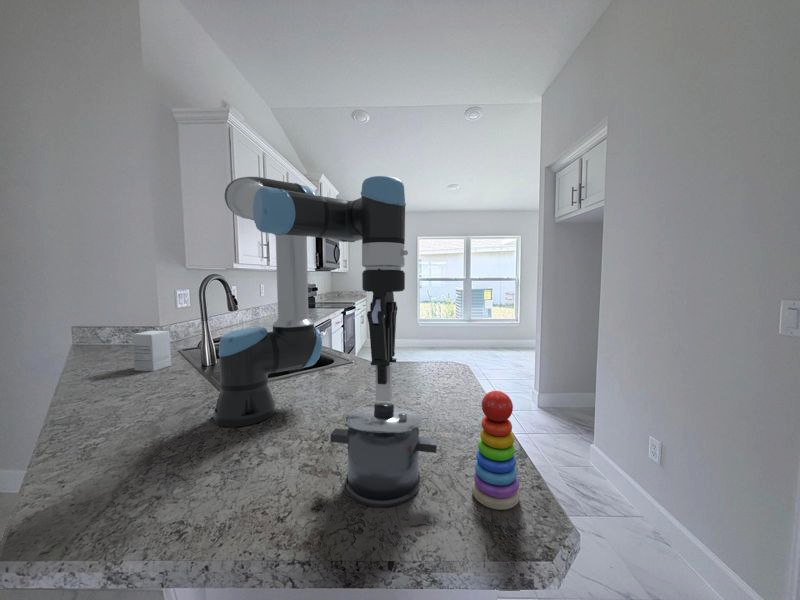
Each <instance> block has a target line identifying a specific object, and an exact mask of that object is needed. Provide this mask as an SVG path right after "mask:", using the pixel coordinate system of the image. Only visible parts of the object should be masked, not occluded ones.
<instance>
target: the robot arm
mask: <svg viewBox="0 0 800 600" xmlns="http://www.w3.org/2000/svg"><path fill="white" fill-rule="evenodd" d="M405 194H406V193H405V185H404V183H403V182H402V181H401V180H400V179H399V178H396V177H392V176H388V175H387V176H386V175H374V176H370V177H367V178H365V179H364V180H363V182H362V184H361V191H360V195H361V197H359V198H357V199H353V200H347V199H340V198H336V197H335V198H334V197H328V196H323V195H322V196H321V195H316V193H315V192H314V190H313V189H312V188H311V187H309V186H307V185H304V184H303V185H302V184H300V183H297V182H290V181H288V182H287V181H281V180H276V179H271V178H264V177H260V176H243V177H238V178H235V179H232V181H231V182H230V183H228V185H226V188H225V190H224V201H225V204H226V206H227V208H228V209H229V210H230V212H232V213H233V214H234V215H235V216H238V217H239V218H242V219H245V220H251V221H254V224H255V227H256V229H257V230H258V231H259V232H262V233H265V234H266V233H267V234H272V235H274V236H275V259H276V260H275V261H276V262H275V263H276V289H277V290H276V291H277V319H276V321H275V322H274V323H273V324H272V331H269V332H268V330H267V329H266V327H259V326H257V327H247V328H243V329H242V328H241V329H239V330H234V331H231V332H229V333H228V332H227V333H225V334H224V335H223V336H222V337H221V338H220V339H219V346H218V356H219V375H220V376H219V377H220V378H219V381H220V383H219V385H220V391H219V395H218V397H217V401H216V404H215V408H214V409H213V410H214V411H213V421H214V424H216V425H218V426H220V427H226V428H227V427H228V428H235V427H244V426H245V427H246V426H251V425H255V424H258V423H260V422H264V421H265V420H267V419H270V417H272V416H273V415H274V414H275V413H276V402H275V400H274V397H273V394H272V392H271V389H270V386H269V384H268V383H269V380H268V377H269V375H270V374H275V373H281V372H286V371H293V370H302V369H304V368H309V367H312V366H314V365H316V363H317V362H318V360H319V359H320V357H321V354H322V349H323V338H322V334H321V331H320V330H319V328H317V327H315V323H314V321H313V320H312V319H311V318H310V317H309V282H308V240H307V238H308V237H310V238H311V237H312V238H320V239H333V240H336V241H339V242H341V243H355V242H359V241H361V243H362V244H361V265H362V267H363V268H365V269H364V270H362V276H361V277H362V278H361V279H362V280H361V281H362V282H361V283H362V285H361V287H362V290H363V291H364V292H368V293H369V292H371V293H372V300H371V302H370V304H369V305H370V306H369V310H368V311H367V313H366V318H367V322H368V327H369V328H368V330H369V342H370V344H369V345H370V353H371V356H370V357H371V362H370V366H375V401H378V402H379V401H380V402H381V401H382V402H392V399H393V363H394V364H395V363H397V358H394V357H395V355H396V352H395V347H396V328H397V327H396V326H397V325H396V324H397V314H398V305H397V301H395V297H394V296H395V295H394V293H395V292H396V293H397V292H398V293H399V292H403V291H405V289H406V285H405V284H406V282H405V281H406V273H405V272H404V270H402V268H403V267H405V256H407V255H408V254H409V251H408V249H405V247H406V246H405V244H406V243H405V242H406V241H405V240H406V239H405V238H406V206H407V205H406V204H407V203H406V195H405Z"/></svg>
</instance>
